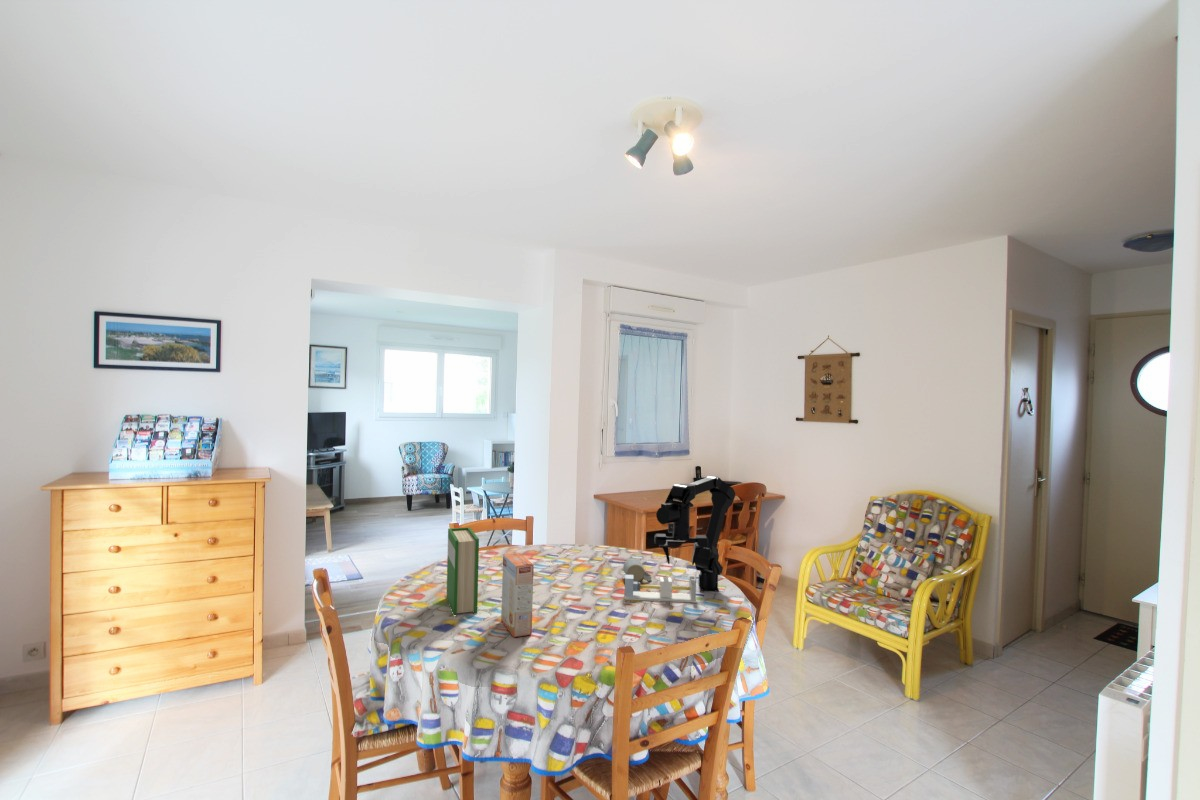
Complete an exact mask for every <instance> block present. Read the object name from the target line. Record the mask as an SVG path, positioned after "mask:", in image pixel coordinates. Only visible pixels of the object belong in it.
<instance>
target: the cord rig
mask: <svg viewBox="0 0 1200 800" xmlns="http://www.w3.org/2000/svg"><path fill="white" fill-rule="evenodd" d="M641 589H646V590H660V585H653V584H641V581H639V582H633V575H626V574H624V600H627V601H648V602H649V601H650V602H652V601H653V602H671V603H672V602H677V603H697V580H696V579H695V575H689V586H683V585H681V586H680V585H679V586H677V585H672V591H674V590H675V591H688V593H685V592H684V593H679V592H672V597H660V592H659V591H658V592H657V591H655V592H653V591H641Z"/></svg>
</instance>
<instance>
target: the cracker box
mask: <svg viewBox="0 0 1200 800" xmlns="http://www.w3.org/2000/svg"><path fill="white" fill-rule="evenodd" d="M534 567H535V566H534V563H533V562H532V561H530V560H529V559H527V558H526V557H525V556H524V555H523V554H522V553H520V552H515V553H513V552H512V553H506V554H502V582H501V584H502V585H501V614H500V615H501V618H500V620H501V622H502V624H503V625H504V626H505V628H506V629H507V631H508V632H509V633H510V635H511V636H512V637H513V638H518V637H525V636H532V634H533V633H532V631H533V627H532V626H533V604H534V603H533V600H534V599H533V598H534V597H533V596H534Z"/></svg>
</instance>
